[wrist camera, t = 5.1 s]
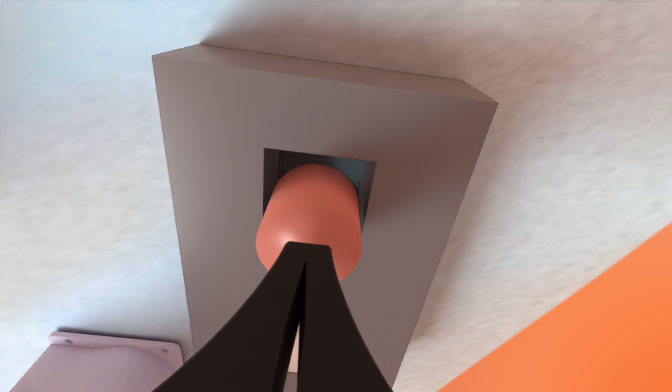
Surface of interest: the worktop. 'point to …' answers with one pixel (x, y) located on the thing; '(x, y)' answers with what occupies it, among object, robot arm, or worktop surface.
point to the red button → (312, 216)
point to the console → (323, 139)
